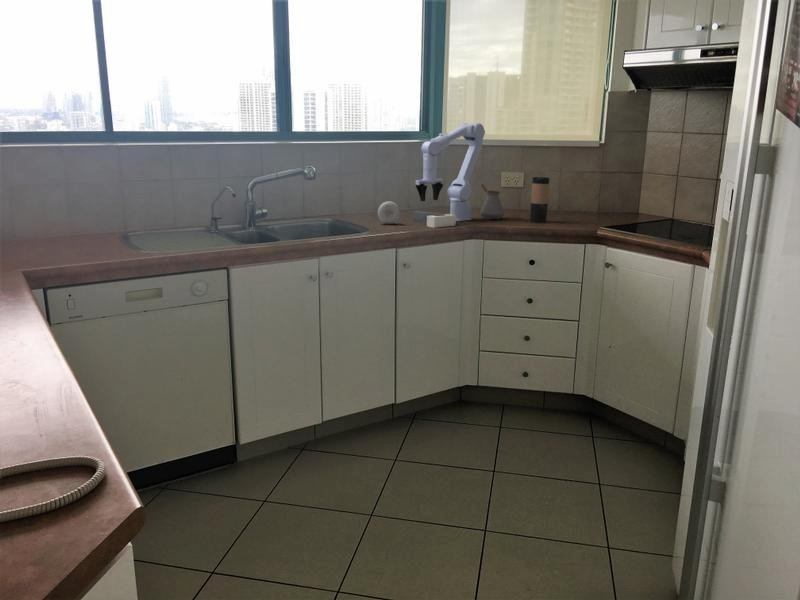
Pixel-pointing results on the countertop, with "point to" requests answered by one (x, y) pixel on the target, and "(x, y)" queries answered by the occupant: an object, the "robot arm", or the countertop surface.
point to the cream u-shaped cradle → (441, 220)
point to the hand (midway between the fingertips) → (429, 200)
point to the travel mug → (539, 199)
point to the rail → (423, 216)
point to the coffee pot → (492, 205)
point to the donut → (395, 212)
